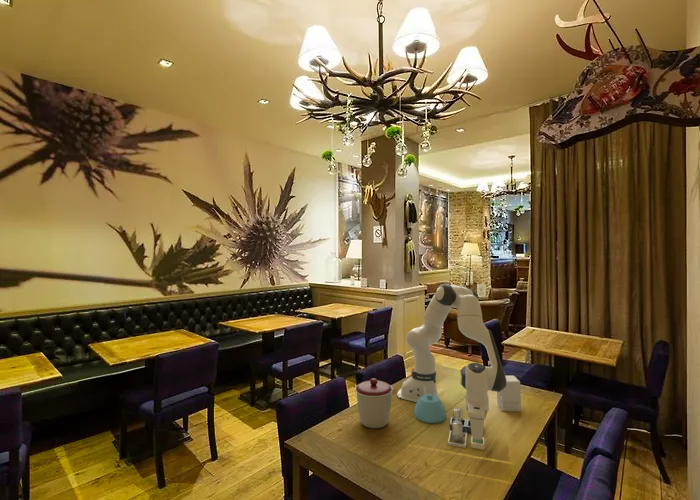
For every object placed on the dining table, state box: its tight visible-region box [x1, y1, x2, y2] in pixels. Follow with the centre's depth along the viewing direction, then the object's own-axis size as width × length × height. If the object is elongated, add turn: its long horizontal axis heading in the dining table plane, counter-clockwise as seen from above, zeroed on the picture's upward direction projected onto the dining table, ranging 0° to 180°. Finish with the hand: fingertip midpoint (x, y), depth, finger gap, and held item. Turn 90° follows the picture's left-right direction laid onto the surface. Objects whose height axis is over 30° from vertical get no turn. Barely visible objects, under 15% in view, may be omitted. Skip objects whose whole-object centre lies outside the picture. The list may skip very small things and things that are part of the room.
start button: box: [473, 438, 483, 444], centre depth 145 cm, size 3×3×3 cm
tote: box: [447, 429, 468, 449], centre depth 149 cm, size 7×10×2 cm
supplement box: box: [496, 375, 522, 412], centre depth 180 cm, size 9×9×15 cm
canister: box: [354, 377, 394, 429], centre depth 167 cm, size 18×18×21 cm
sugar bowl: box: [413, 394, 447, 424], centre depth 170 cm, size 15×15×12 cm
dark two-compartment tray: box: [449, 416, 472, 435], centre depth 158 cm, size 14×8×4 cm, turn 69°
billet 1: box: [452, 406, 464, 425], centre depth 159 cm, size 4×4×8 cm
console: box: [470, 435, 485, 450], centre depth 145 cm, size 5×6×3 cm
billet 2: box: [452, 421, 464, 444], centre depth 149 cm, size 4×4×8 cm
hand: (477, 438), depth 145 cm, fingers closed, pressing on start button
